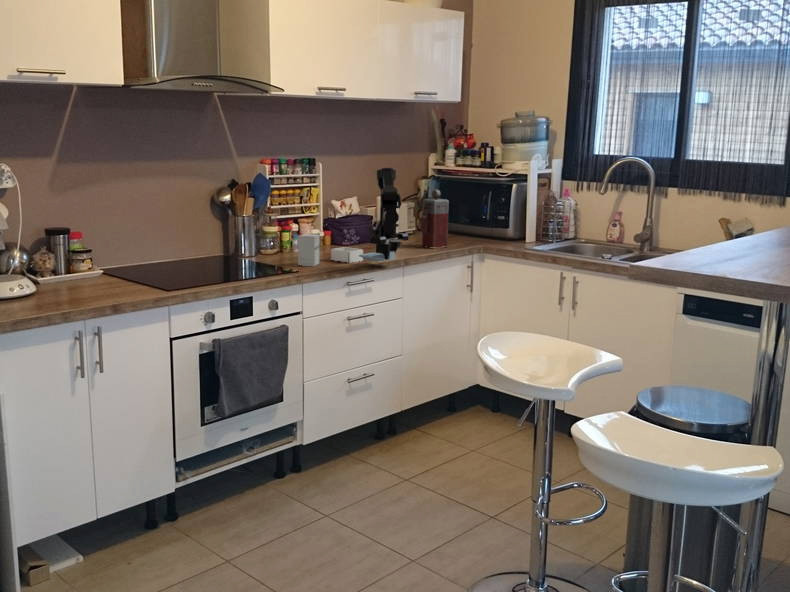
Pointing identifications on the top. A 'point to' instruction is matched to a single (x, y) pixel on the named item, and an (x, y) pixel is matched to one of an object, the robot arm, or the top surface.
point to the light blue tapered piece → (378, 256)
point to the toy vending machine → (435, 221)
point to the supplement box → (308, 249)
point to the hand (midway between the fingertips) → (388, 259)
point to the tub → (346, 254)
